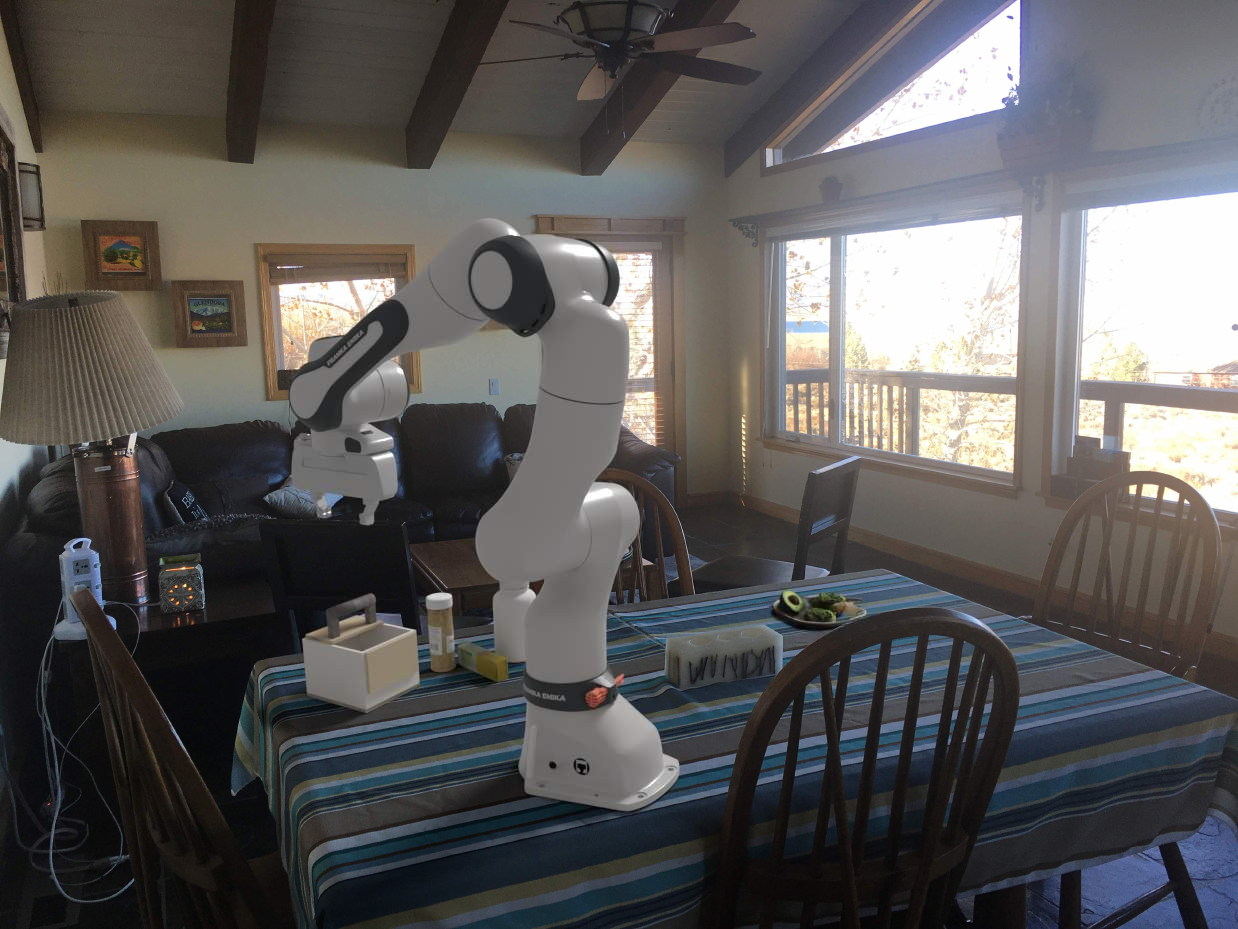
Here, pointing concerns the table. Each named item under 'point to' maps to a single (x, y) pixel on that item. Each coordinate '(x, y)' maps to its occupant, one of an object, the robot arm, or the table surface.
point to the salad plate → (816, 609)
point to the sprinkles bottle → (441, 632)
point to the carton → (363, 667)
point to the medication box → (482, 661)
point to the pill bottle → (511, 619)
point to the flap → (348, 620)
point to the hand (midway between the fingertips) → (345, 520)
